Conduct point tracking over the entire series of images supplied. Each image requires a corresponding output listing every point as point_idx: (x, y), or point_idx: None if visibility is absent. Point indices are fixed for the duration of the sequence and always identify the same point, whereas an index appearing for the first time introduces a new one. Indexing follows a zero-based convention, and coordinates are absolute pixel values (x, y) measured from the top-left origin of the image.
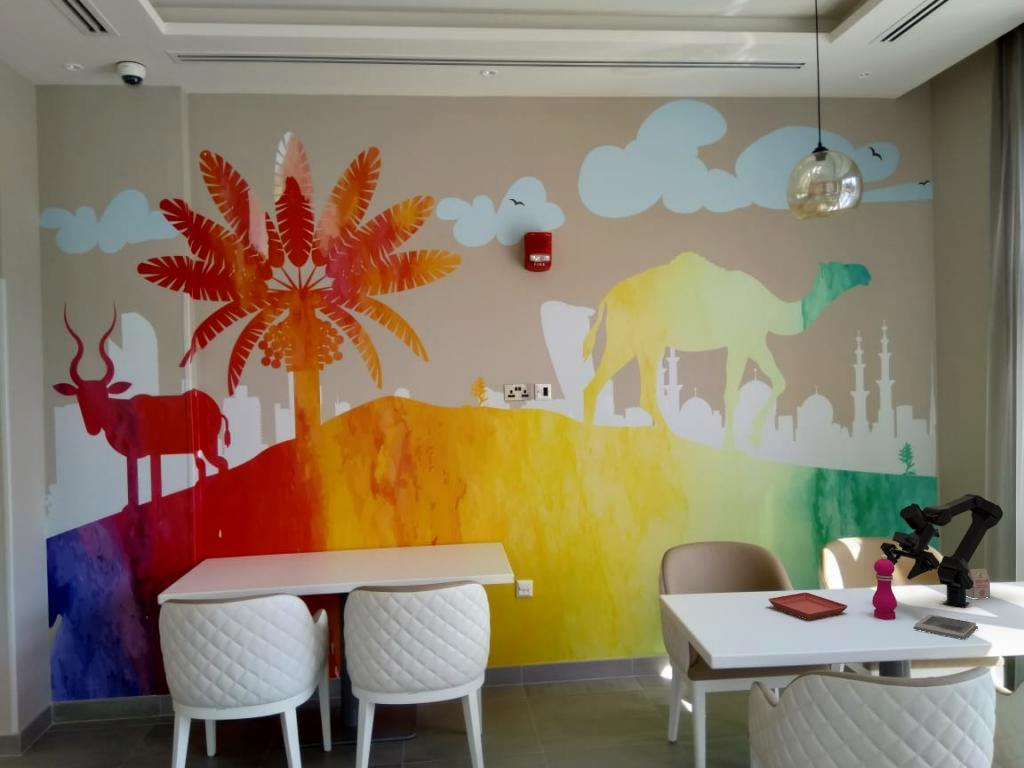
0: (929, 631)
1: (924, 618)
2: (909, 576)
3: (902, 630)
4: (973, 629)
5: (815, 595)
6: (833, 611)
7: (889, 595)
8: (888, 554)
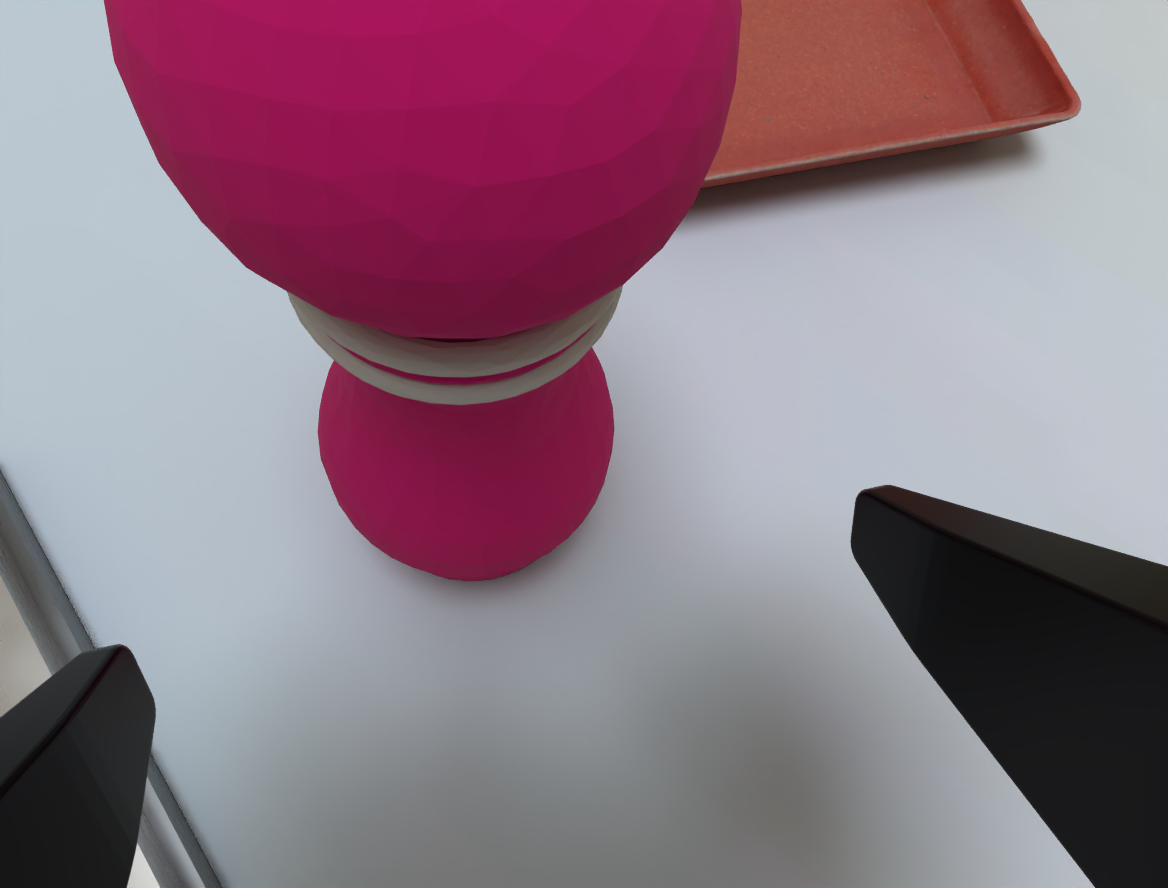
0: None
1: None
2: (45, 697)
3: (38, 354)
4: None
5: (987, 124)
6: None
7: (339, 369)
8: None
